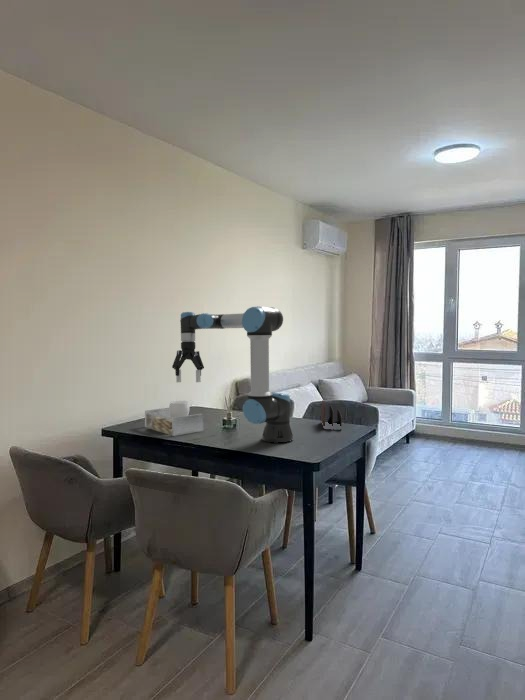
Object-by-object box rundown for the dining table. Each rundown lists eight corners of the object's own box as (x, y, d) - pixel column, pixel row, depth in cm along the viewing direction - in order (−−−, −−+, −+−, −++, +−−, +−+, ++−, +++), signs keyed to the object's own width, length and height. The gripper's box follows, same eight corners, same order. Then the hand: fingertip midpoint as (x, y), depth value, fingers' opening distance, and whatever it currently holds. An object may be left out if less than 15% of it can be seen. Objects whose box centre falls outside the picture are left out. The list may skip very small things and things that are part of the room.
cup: (185, 432, 259) (185, 404, 258) (165, 431, 261) (165, 403, 261) (192, 428, 270) (192, 401, 269) (173, 427, 272) (173, 400, 271)
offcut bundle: (176, 432, 254) (176, 421, 253) (170, 433, 251) (170, 422, 251) (157, 427, 267) (157, 416, 266) (152, 428, 264) (152, 416, 264)
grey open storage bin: (203, 433, 259) (203, 413, 259) (173, 438, 247) (173, 418, 246) (173, 424, 279) (173, 406, 279) (144, 429, 267) (144, 410, 266)
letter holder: (323, 430, 270) (323, 404, 269) (320, 423, 289) (321, 398, 289) (341, 430, 269) (342, 404, 268) (338, 423, 289) (338, 399, 288)
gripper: (200, 343, 275) (201, 382, 274) (164, 340, 256) (165, 382, 254) (210, 342, 271) (210, 381, 269) (174, 339, 251) (175, 382, 250)
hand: (188, 382), depth 262 cm, fingers open, 13 cm apart
